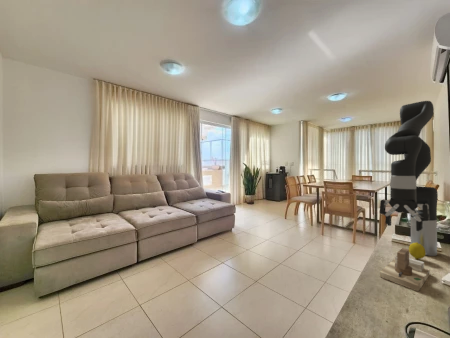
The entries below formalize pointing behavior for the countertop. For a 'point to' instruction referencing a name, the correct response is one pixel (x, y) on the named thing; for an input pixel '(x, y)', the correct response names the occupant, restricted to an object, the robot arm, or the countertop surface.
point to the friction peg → (403, 263)
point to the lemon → (417, 250)
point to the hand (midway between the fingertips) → (403, 227)
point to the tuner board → (411, 281)
